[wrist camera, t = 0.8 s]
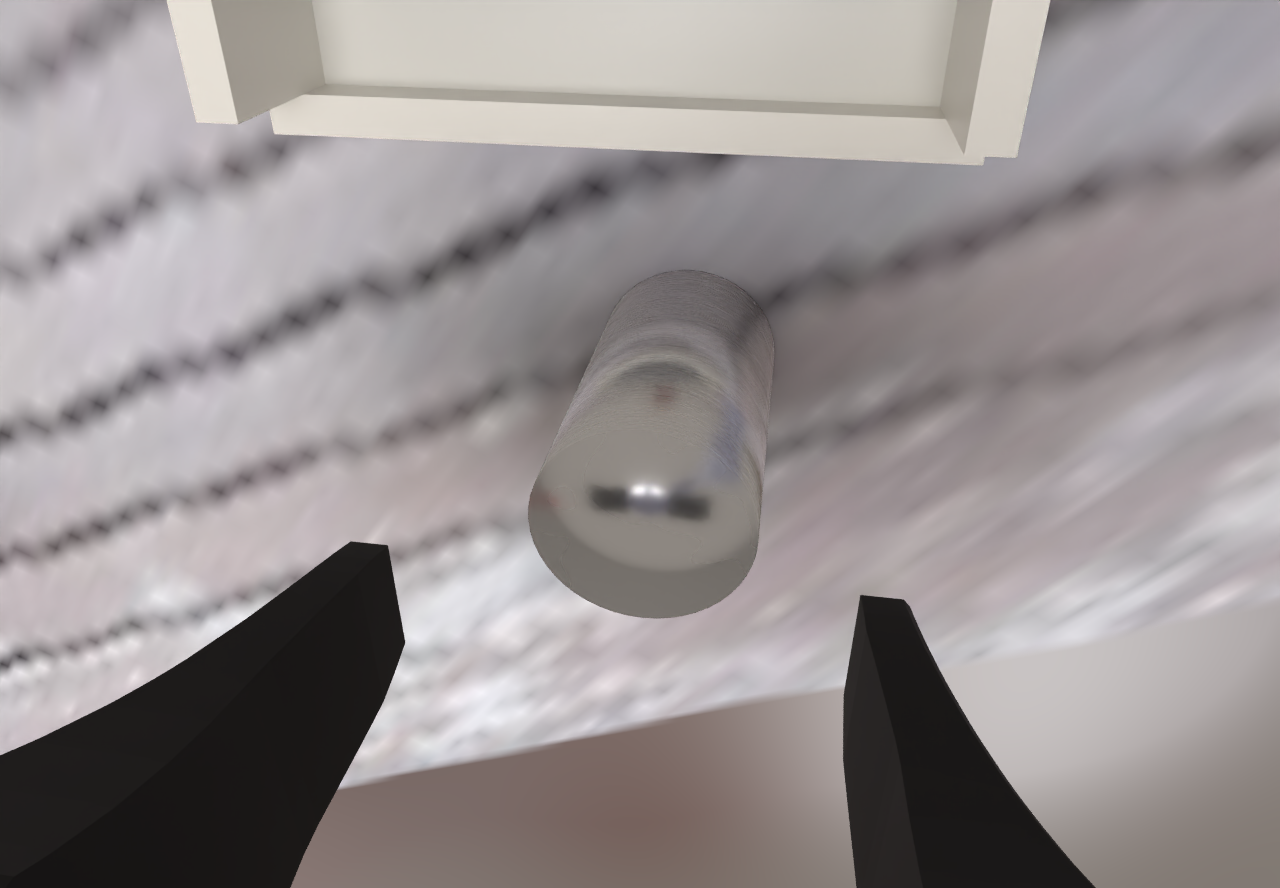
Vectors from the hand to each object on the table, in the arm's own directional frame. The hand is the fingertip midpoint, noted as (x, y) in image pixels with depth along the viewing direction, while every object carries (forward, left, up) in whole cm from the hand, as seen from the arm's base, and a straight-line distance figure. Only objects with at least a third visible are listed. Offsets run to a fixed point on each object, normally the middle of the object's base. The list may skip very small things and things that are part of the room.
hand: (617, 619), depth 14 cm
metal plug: (0, 0, -9) cm, 9 cm away
